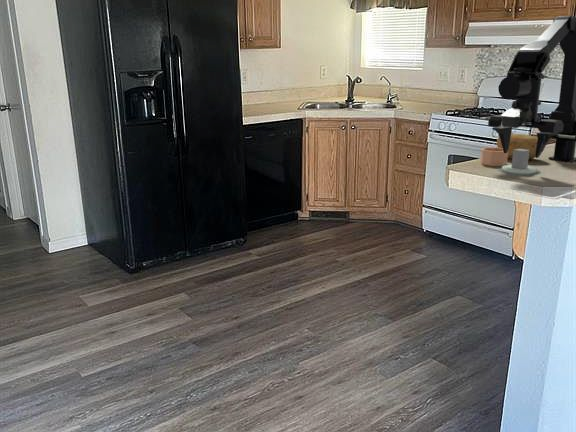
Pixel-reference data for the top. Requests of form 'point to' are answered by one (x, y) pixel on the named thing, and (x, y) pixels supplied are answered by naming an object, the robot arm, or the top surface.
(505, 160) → the cup
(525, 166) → the lid
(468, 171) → the top surface
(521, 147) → the potato
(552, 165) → the top surface
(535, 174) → the mat
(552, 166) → the top surface
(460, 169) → the top surface
